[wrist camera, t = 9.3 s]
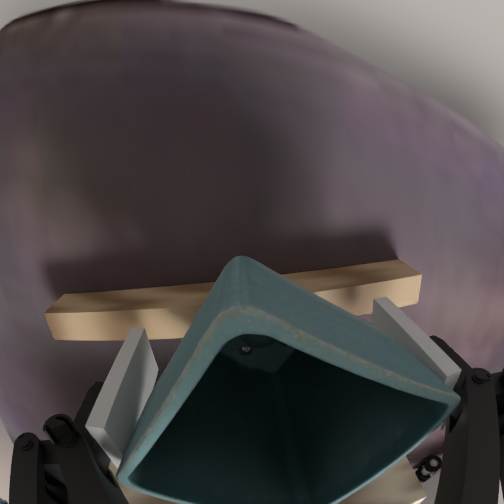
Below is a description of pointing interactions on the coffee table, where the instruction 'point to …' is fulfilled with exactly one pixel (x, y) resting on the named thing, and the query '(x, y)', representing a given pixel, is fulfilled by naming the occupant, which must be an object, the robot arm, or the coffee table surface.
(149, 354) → the robot arm
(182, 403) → the flower pot
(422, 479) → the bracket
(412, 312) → the coffee table surface
